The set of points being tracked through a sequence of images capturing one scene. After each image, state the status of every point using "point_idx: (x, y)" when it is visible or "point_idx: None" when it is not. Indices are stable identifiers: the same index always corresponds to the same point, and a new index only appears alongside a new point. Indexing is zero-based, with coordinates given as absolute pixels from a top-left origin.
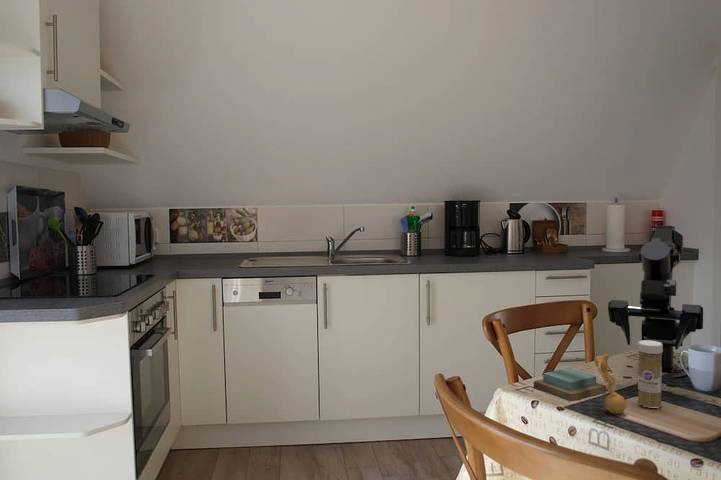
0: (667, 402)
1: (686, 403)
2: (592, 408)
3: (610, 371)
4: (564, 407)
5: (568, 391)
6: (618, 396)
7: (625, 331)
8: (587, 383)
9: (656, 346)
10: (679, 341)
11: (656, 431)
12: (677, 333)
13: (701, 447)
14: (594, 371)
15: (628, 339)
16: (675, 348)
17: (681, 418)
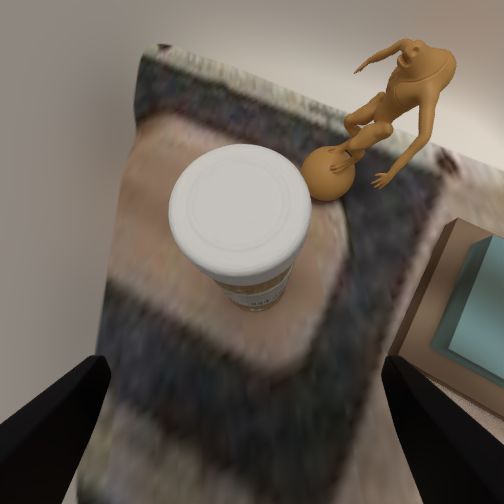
0: (212, 338)
1: (163, 354)
2: (379, 197)
3: (381, 184)
4: (440, 173)
5: (476, 238)
6: (322, 152)
7: (479, 431)
8: (452, 307)
9: (202, 157)
10: (51, 385)
11: (229, 125)
12: (12, 448)
13: (154, 91)
14: None
15: (405, 370)
16: (107, 364)
17: None
